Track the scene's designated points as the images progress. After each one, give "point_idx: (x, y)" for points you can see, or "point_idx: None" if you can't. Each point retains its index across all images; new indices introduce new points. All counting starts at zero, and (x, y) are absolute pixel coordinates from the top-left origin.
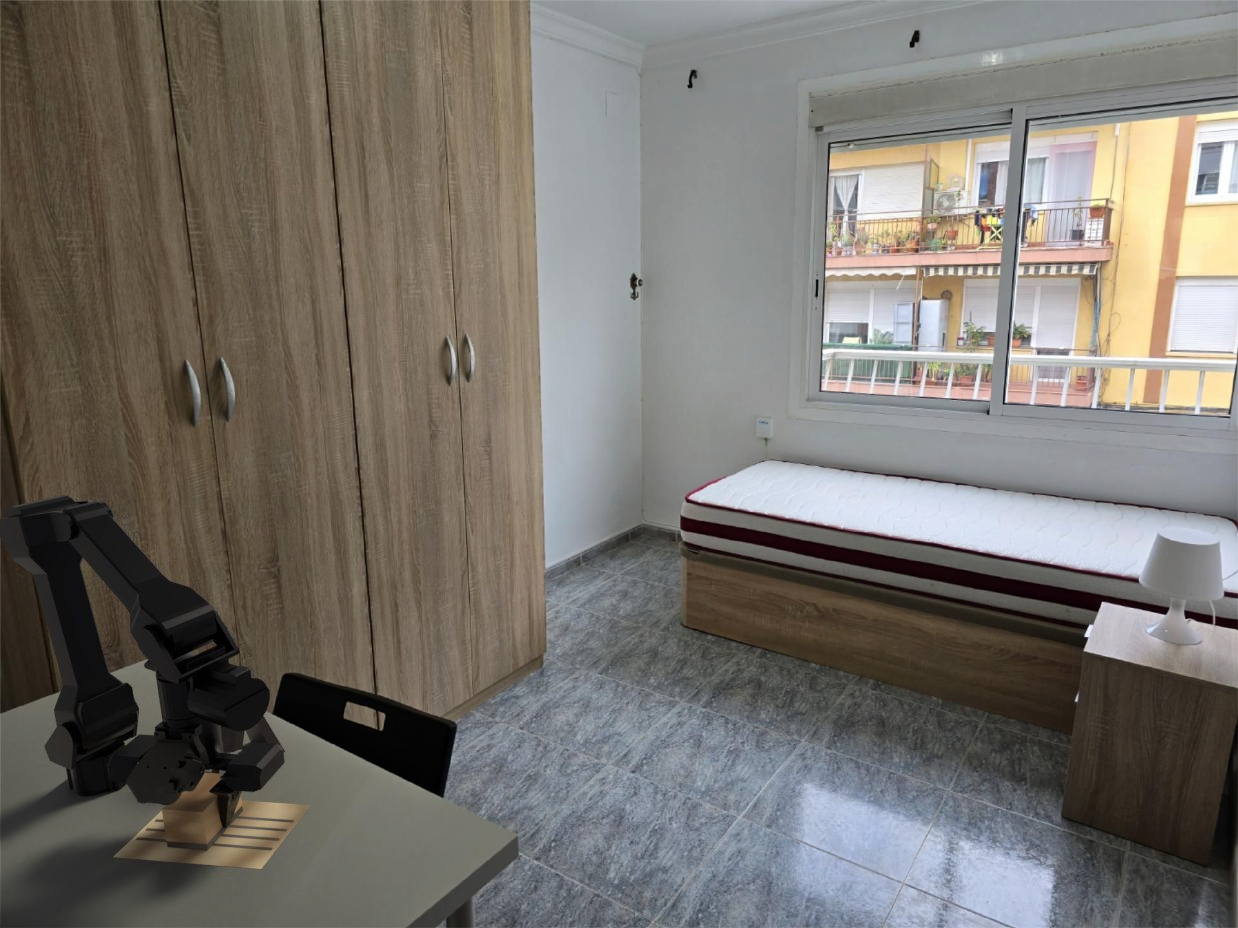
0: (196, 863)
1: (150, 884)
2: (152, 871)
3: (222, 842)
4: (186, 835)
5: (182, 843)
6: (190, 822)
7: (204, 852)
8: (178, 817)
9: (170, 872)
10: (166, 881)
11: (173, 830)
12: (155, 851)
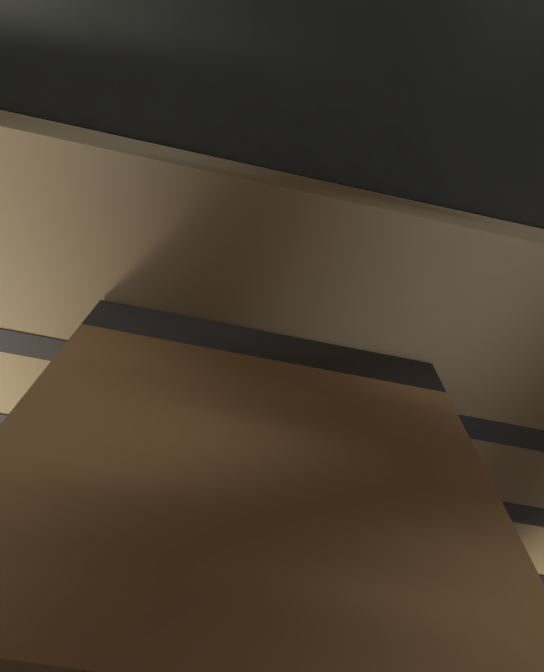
0: (111, 152)
1: (452, 37)
2: (480, 191)
3: (42, 370)
4: (256, 395)
5: (309, 361)
6: (167, 497)
7: (117, 280)
8: (327, 575)
9: (343, 166)
10: (335, 61)
11: (392, 448)
12: (509, 329)
